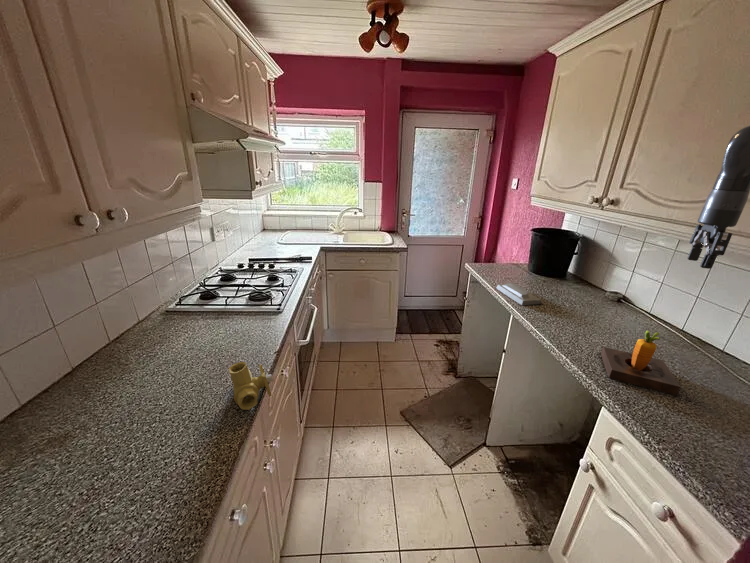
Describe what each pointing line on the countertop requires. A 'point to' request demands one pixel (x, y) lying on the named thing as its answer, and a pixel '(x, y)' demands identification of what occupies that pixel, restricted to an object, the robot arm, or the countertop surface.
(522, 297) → the soap mold
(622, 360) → the socket board
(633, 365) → the carrot
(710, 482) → the countertop surface
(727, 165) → the robot arm
